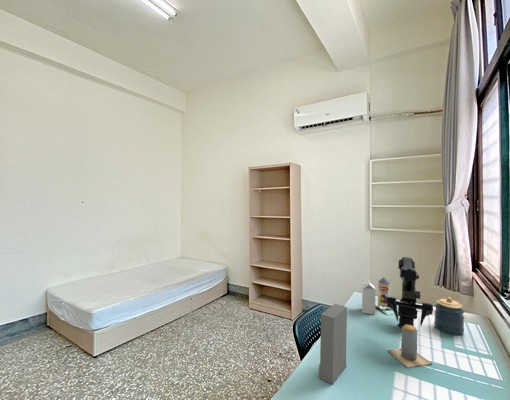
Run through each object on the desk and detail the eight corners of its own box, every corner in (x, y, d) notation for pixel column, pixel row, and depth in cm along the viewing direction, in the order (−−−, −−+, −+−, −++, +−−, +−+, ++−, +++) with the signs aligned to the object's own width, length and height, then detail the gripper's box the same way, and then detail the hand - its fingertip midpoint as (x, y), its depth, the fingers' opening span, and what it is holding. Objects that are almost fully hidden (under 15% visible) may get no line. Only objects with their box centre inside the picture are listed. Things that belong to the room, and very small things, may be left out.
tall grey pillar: (332, 361, 113) (333, 303, 113) (346, 367, 109) (347, 306, 109) (317, 377, 102) (318, 313, 102) (332, 385, 99) (333, 318, 98)
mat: (409, 348, 123) (410, 347, 123) (431, 364, 112) (432, 363, 112) (387, 351, 121) (387, 350, 121) (407, 367, 109) (407, 366, 109)
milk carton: (374, 310, 166) (374, 280, 166) (375, 314, 159) (375, 283, 159) (361, 308, 168) (362, 278, 168) (362, 312, 162) (363, 282, 161)
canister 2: (468, 338, 134) (469, 303, 134) (438, 333, 138) (439, 299, 138) (458, 326, 146) (458, 294, 146) (430, 322, 150) (431, 291, 150)
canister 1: (404, 350, 121) (405, 322, 120) (419, 357, 116) (420, 327, 116) (398, 355, 117) (399, 325, 117) (413, 362, 112) (414, 331, 112)
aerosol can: (377, 308, 168) (377, 277, 168) (378, 305, 174) (378, 274, 174) (389, 311, 165) (389, 279, 164) (389, 307, 171) (390, 276, 170)
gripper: (387, 280, 129) (386, 311, 119) (433, 286, 120) (435, 320, 111) (387, 291, 136) (386, 321, 126) (430, 298, 127) (433, 331, 118)
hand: (409, 323), depth 120 cm, fingers open, 9 cm apart
